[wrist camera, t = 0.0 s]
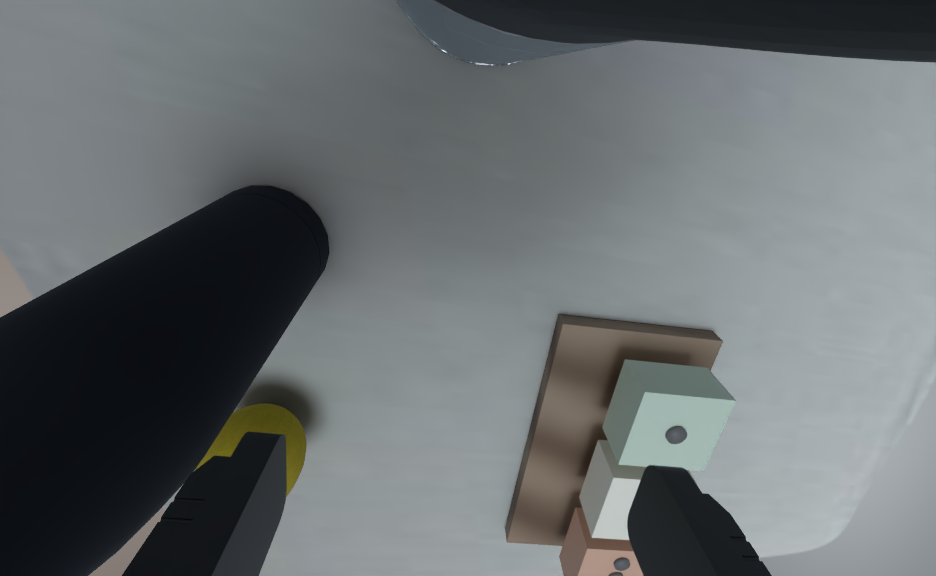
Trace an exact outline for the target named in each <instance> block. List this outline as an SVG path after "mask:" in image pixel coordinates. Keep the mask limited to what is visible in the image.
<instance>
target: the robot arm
mask: <svg viewBox="0 0 936 576" xmlns="http://www.w3.org/2000/svg"><path fill="white" fill-rule="evenodd" d="M396 1H397V2H398V4H399V5H400V7H401V8H402V9H403V11H404V12H405V14H406V15H407V16H408V18H409V19H410V20H411V21H412V22H413V24H414V25H415V26H416V28H417V29H418V30H419V32H420V33H421V34H422V35H423V36H424V37H425V38H426V39H428V40H429V41H430V42H431V44H432V45H434V46H435V47H437V48H438V49H439V50H441V51H443V52H444V53H446V54H448V55H450V56H453V57H454V58H456V59H459V60H462V61H465V62H468V63H473V64H478V65H486V66H500V65H508V64H513V63H517V62H521V61H525V60H531V59H536V58H542V57H547V56H553V55H558V54H564V53H569V52H575V51H580V50H585V49H590V48H595V47H601V46H606V45H612V44H617V43H623V42H628V41H634V40H646V41H660V42H673V43H685V44H697V45H708V46H719V47H730V48H740V49H751V50H762V51H772V52H783V53H795V54H807V55H819V56H831V57H845V58H861V59H877V60H892V61H915V62H936V0H396ZM286 492H287V467H286V437H285V435H284V434H273V433H261V432H246V433H245V434H244V435H243V437H242V438H241V440H240V442H239V443H238V445H237V447H236V448H235V450H234V452H233V453H232V455H231V457H227V456H213V457H212V458H210V459H209V460H208V461H207V462H205V463H204V464H203V465H201V466H200V467H199V468H198V469H196V470H195V471H194V472H192V473H191V474H190V475H189V477H188V478H187V480H186V481H185V483H184V484H183V486H182V487H181V489H180V490H179V492H178V493H177V495H176V496H175V499H174V502H171V504H170V505H169V507H168V508H167V509H166V511H165V512H164V514H163V515H162V517H161V521H160V522H158V523H157V524H156V526H155V528H154V529H153V530H152V532H151V533H150V535H149V536H148V538H147V539H146V541H145V542H144V544H143V545H142V547H141V548H140V549H139V551H138V553H137V554H136V555H135V557H134V558H133V560H132V561H131V563H130V564H129V566H128V567H127V569H126V570H125V572H124V573H123V575H122V576H259V573H260V570H261V568H262V565H263V563H264V560H265V558H266V555H267V553H268V550H269V548H270V545H271V542H272V540H273V537H274V535H275V532H276V530H277V527H278V525H279V522H280V519H281V516H282V513H283V509H284V505H285V500H286ZM627 528H628V536H629V540H630V543H631V546H632V549H633V551H634V554H635V556H636V559H637V561H638V563H639V566H640V568H641V571H642V573H643V576H771V574H770V572H769V571H768V570H767V568H766V567H765V565H764V564H763V562H762V561H759V556H758V555H757V553H756V552H755V550H754V549H753V547H752V546H751V544H750V543H749V542H747V541H746V537H745V535H744V534H743V532H742V531H741V529H740V528H739V526H738V525H737V523H736V522H735V520H734V519H733V517H732V516H731V514H730V513H729V512H727V511H726V510H725V509H724V508H723V507H722V506H721V505H720V504H719V503H718V502H717V501H716V500H714V499H713V498H712V497H711V496H710V495H709V494H702V492H701V491H700V489H699V488H698V486H697V485H696V483H695V481H694V480H693V478H692V477H691V475H690V474H689V472H688V471H687V470H686V469H684V468H682V467H670V466H657V465H649V466H647V467H646V469H645V470H644V473H643V475H642V478H641V481H640V483H639V486H638V489H637V492H636V494H635V497H634V500H633V502H632V505H631V508H630V511H629V514H628V520H627Z"/></svg>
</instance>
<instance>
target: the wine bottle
mask: <svg viewBox="0 0 936 576" xmlns="http://www.w3.org/2000/svg"><path fill="white" fill-rule="evenodd" d="M328 255H329V247H328V237H327V233H326V231H325V229H324V227H323V224H322V222H321V220H320V218H319V217H318V216H317V215H316V213H315V212H314V211H313V210H312V209H311V207H310V206H309V205H308V204H307V203H306V202H304V201H303V200H301V199H300V198H298V197H297V196H295V195H294V194H292V193H291V192H288V191H285V190H282V189H279V188H276V187H273V186H249V187H245V188H242V189H239V190H236V191H233V192H231V193H229V194H228V195H226V196H224V197H222V198H220V199H218V200H217V201H215V202H213V203H211V204H209V205H207V206H205V207H204V208H202V209H200V210H198V211H196V212H194V213H193V214H191V215H189V216H187V217H185V218H183V219H181V220H180V221H178V222H176V223H174V224H172V225H170V226H169V227H167V228H165V229H163V230H161V231H159V232H157V233H156V234H154V235H152V236H150V237H148V238H146V239H145V240H143V241H141V242H139V243H137V244H135V245H133V246H132V247H130V248H128V249H126V250H124V251H122V252H121V253H119V254H117V255H115V256H113V257H111V258H109V259H108V260H106V261H104V262H102V263H100V264H98V265H97V266H95V267H93V268H91V269H89V270H87V271H85V272H84V273H82V274H80V275H78V276H76V277H74V278H73V279H71V280H69V281H67V282H65V283H63V284H61V285H60V286H58V287H56V288H54V289H52V290H50V291H49V292H47V293H45V294H43V295H41V296H39V297H37V298H36V299H34V300H32V301H30V302H28V303H27V304H25V305H23V306H21V307H19V308H17V309H15V310H13V311H12V312H10V313H8V314H6V315H4V316H2V317H1V318H0V576H88V575H90V574H91V573H92V572H93V571H94V570H96V569H97V568H98V567H99V566H100V565H102V564H103V563H104V562H105V561H106V560H107V559H109V558H110V557H111V556H113V555H114V554H115V553H116V552H117V551H118V550H120V549H121V548H122V547H123V546H124V544H126V543H127V541H128V540H129V539H131V537H133V535H135V534H136V533H137V532H138V531H139V530H140V529H141V527H143V526H144V525H145V523H147V522H148V521H149V520H150V519H151V517H153V516H154V515H155V514H156V513H157V512H158V511H159V510H160V509H161V508H162V506H163V505H164V504H165V503H166V502H167V501H168V500H169V499H170V498H171V497H172V496H173V494H174V493H175V492H176V491H177V490H178V489H179V488H180V487H181V486H182V485H183V484H184V482H185V481H186V480H187V478H188V477H189V475H190V474H191V473H192V472H194V470H195V469H196V467H197V466H198V465H199V463H200V462H201V460H202V459H203V458H204V456H205V455H206V453H207V452H208V450H209V448H210V447H211V445H212V444H213V442H214V441H215V439H216V438H217V436H218V434H219V433H220V431H221V430H222V428H223V427H224V425H225V423H226V422H227V420H228V419H229V417H230V416H231V414H232V413H233V411H234V409H235V408H236V406H237V405H238V403H239V402H240V400H241V399H242V397H243V395H244V394H245V392H246V391H247V389H248V388H249V386H250V385H251V383H252V381H253V380H254V378H255V377H256V375H257V374H258V372H259V371H260V369H261V367H262V366H263V364H264V363H265V361H266V360H267V358H268V357H269V355H270V353H271V352H272V350H273V349H274V347H275V346H276V344H277V342H278V341H279V339H280V338H281V336H282V335H283V333H284V332H285V330H286V328H287V327H288V325H289V324H290V322H291V321H292V319H293V318H294V316H295V314H296V313H297V311H298V310H299V308H300V307H301V305H302V304H303V302H304V300H305V299H306V297H307V296H308V294H309V293H310V291H311V290H312V288H313V286H314V285H315V283H316V282H317V280H318V279H319V277H320V276H321V274H322V272H323V271H324V269H325V267H326V263H327V259H328Z"/></svg>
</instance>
